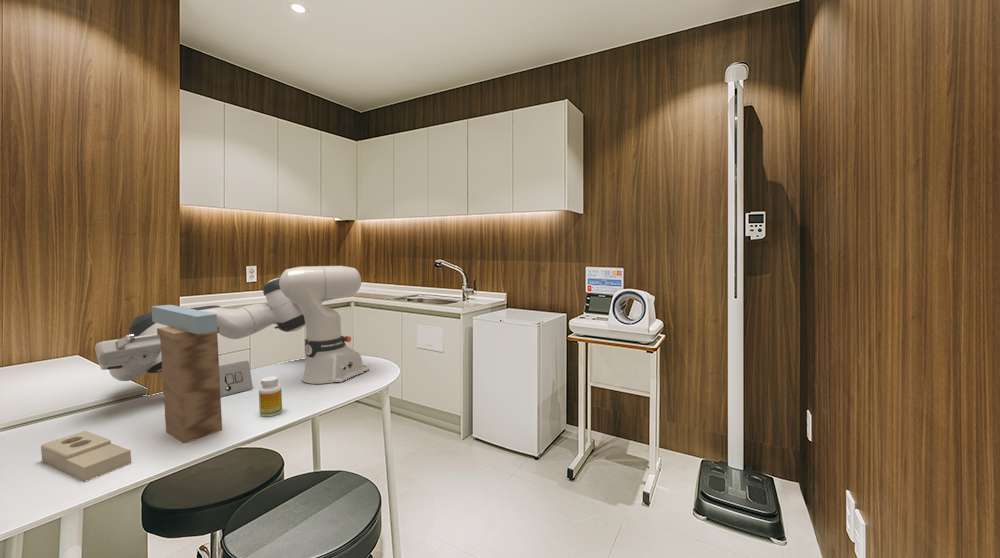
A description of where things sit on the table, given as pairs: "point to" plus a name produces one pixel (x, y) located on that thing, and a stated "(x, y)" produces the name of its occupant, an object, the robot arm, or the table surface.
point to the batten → (185, 318)
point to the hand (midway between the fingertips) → (153, 334)
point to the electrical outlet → (85, 455)
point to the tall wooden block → (190, 383)
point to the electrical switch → (235, 378)
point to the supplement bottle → (270, 397)
